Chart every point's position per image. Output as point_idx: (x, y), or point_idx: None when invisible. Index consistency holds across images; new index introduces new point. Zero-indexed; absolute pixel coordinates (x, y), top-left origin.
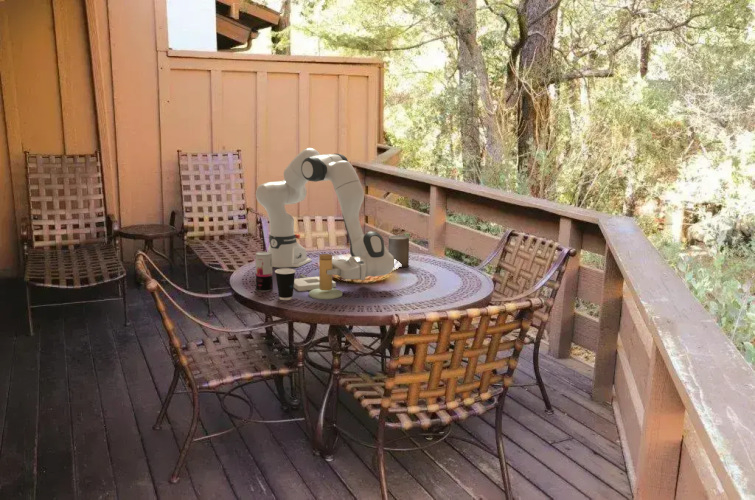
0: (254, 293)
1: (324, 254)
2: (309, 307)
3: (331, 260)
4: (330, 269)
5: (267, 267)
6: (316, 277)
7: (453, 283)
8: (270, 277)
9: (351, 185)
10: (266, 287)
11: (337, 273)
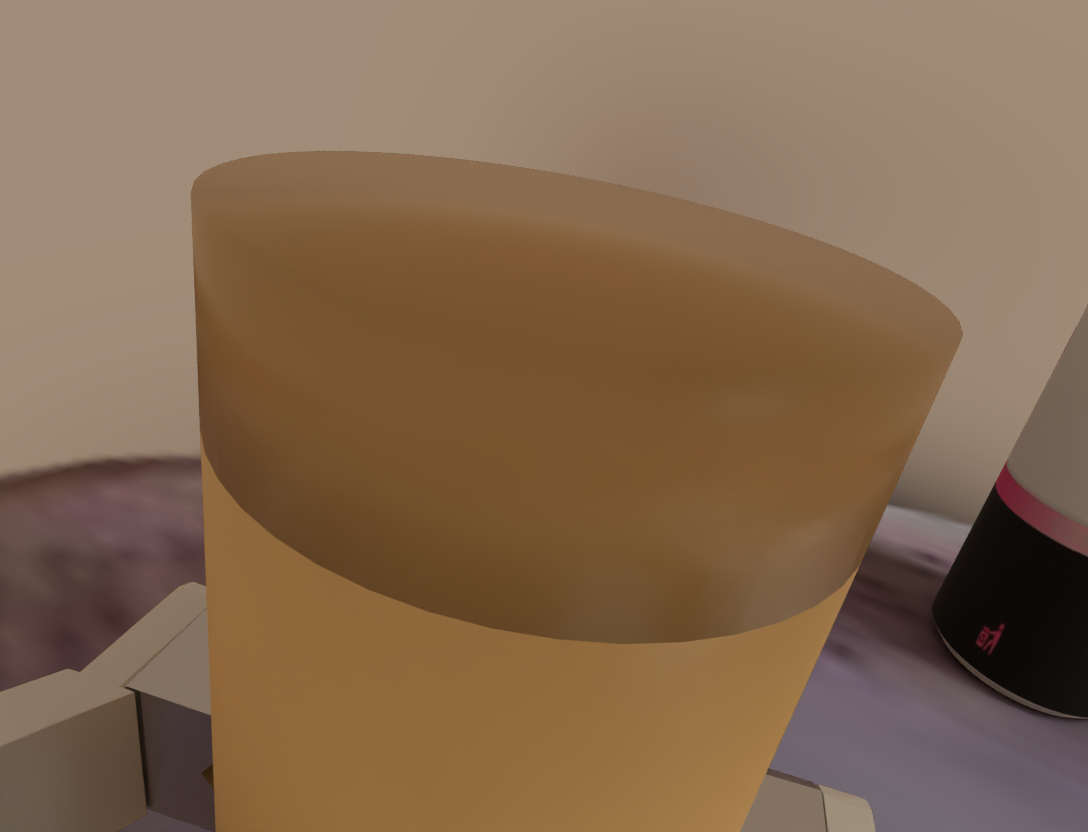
0: (889, 552)
1: (783, 273)
2: (169, 560)
3: (206, 488)
4: (164, 687)
5: (1057, 408)
6: None
7: None
8: (1023, 542)
9: None
10: (947, 594)
11: None
